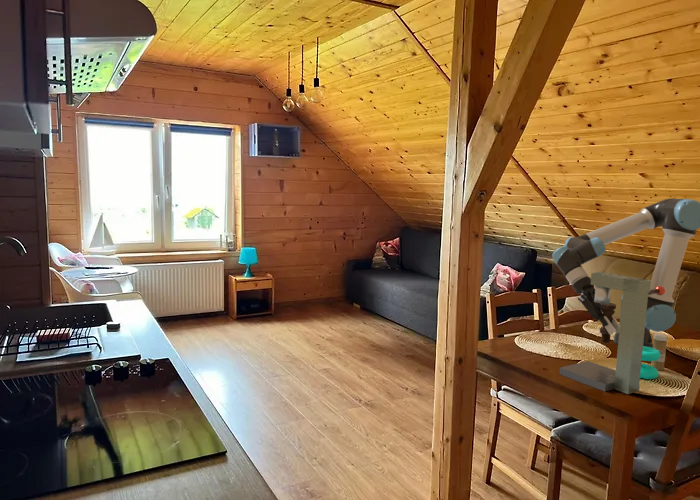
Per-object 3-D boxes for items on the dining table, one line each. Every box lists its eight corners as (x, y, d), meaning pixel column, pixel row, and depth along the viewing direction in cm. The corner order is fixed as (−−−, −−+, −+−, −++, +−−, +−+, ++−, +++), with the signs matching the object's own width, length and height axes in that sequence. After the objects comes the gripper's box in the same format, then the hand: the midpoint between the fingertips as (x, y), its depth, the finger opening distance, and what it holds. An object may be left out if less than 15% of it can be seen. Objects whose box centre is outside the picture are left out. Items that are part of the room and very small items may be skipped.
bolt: (611, 345, 198) (615, 306, 196) (597, 343, 200) (600, 304, 198) (613, 341, 202) (616, 303, 201) (599, 339, 205) (602, 301, 203)
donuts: (663, 348, 192) (658, 355, 185) (660, 375, 194) (655, 382, 186) (633, 343, 199) (626, 349, 191) (630, 368, 200) (624, 375, 192)
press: (559, 374, 192) (567, 271, 187) (600, 363, 204) (608, 267, 199) (620, 397, 172) (631, 283, 167) (661, 384, 184) (672, 277, 179)
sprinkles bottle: (652, 370, 198) (655, 335, 197) (648, 366, 203) (652, 332, 201) (665, 371, 197) (669, 336, 196) (662, 367, 202) (665, 333, 200)
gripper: (586, 284, 216) (622, 334, 204) (560, 288, 208) (595, 340, 196) (599, 273, 211) (636, 323, 199) (573, 277, 203) (610, 329, 191)
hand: (616, 331), depth 197 cm, fingers closed on bolt, 3 cm apart
